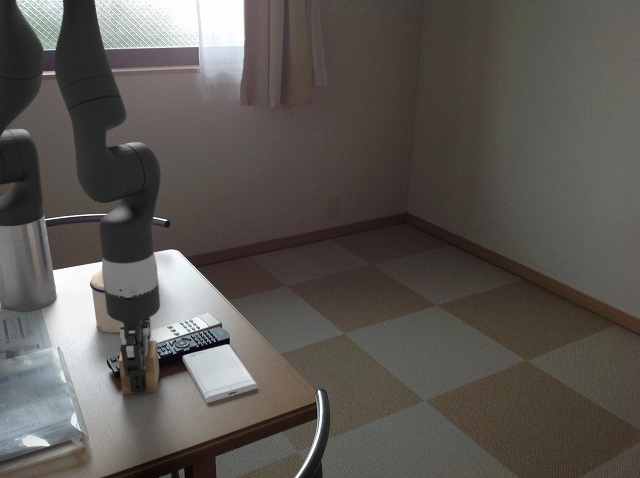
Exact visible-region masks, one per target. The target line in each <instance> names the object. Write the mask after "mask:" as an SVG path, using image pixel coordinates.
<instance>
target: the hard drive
mask: <svg viewBox="0 0 640 478" xmlns="http://www.w3.org/2000/svg"><path fill="white" fill-rule="evenodd" d="M182 362H183V364H184V366H185V368H186V369H187V371H188V372H189V374H190V377H191V378H192V380H193V381H194V384H195V386H196V387H197V390H198V391H199V392H200V394H201V395H202V398H203V399H204V401H205V403H206V404H209V403H212V402H215V401H219V400H221V399H226V398H230V397H232V396H236V395H240V394H243V393H247V392H250V391H253V390H256V389H258V383H257V382H256V381H255V380H254V378H253V377H252V375H251V374H250V372H249V371H248V370H247V368H246V367H245V365H244V364H243V362H242V361H241V359H239V357H238V355H237V354H236V353H235V351H234V350H233V348H232V347H231V346H230V345H229V344H223V345H219V346H214V347H211V348H207V349H202V350H200V351H195V352H191V353H188V354H184V355H182Z"/></svg>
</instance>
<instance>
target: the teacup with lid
mask: <svg viewBox="0 0 640 478" xmlns="http://www.w3.org/2000/svg"><path fill="white" fill-rule="evenodd" d="M89 286H90V288H91V292H92V293H91V294H92V299H93V300H92V301H93V307H94V315H95V322H96V326H97V328H98V329H99V330H101V331H103V332H105V333H111V334H120V327H121V326H123V323H122V322H120V321H118V320H115V319H113V318H111V317H110V316H109V315H108V313H107V307H106V299H105V291H104V283H103V274H102V270H100V271H98V272H96V273H95V274H94V275H92V277H91V278H90V281H89Z"/></svg>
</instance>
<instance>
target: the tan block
mask: <svg viewBox="0 0 640 478" xmlns="http://www.w3.org/2000/svg"><path fill="white" fill-rule="evenodd" d="M141 350H143V347H141ZM158 353H159V352H158V340H149V341H148V353H147V355H146V356H145V366H146V369H145V375H146V385H147V388H146V391H145V392H136V393H135V394H144V393H157V391H158V384H159V379H160V364H159V354H158ZM118 366H119V367H118V368H119V375H120V382H121V393H122V395H128V394H132V395H133V394H134V393H133V392H132V391H131V385H130V376H127V377H126V376H125V374H124V366H123V360H122V355H121V353H119V358H118Z"/></svg>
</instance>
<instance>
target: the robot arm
mask: <svg viewBox="0 0 640 478" xmlns="http://www.w3.org/2000/svg"><path fill="white" fill-rule="evenodd" d="M62 5H63V6H62V8H63V9H62V10H63V11H62V17H61V24H60V29H59V33H58V38H57V43H56V46H55V52H54V61H53V63H54V64H53V65H54V66H53V67H54V75H55V79H56V83H57V85H58V88H59V91H60V93H61V96H62V99H63V101H64V104H65V107H66V109H67V112H68V115H69V117H70V121H71V125H72V131H73V132H72V133H73V141H74V142H73V143H74V148H75V149H74V150H75V161H76V162H75V166H76V175H77V179H78V182H79V185H80V187H81V190H82V191H83V193H84V194H86V195H87V196H88V198H90V199H92V201H95V202H97V203H100V204H107V203H112V202H116V201H118V200H121V201H120V203H119V205H118V206H117V207H116V208H114V209H112V211H110V212H108V213H107V214H105V215H104V216H103V217H102V218H101V219H100V221H99V224H98V232H99V239H100V247H101V249H100V250H101V255H102V265H101V271H102V274H103V283H104V291H105V299H106V307H107V313H108V315H109V316H110V317H111V318H113V319H115V320H118V321H120V322H122V323H123V326H121V327H120V333H119V335H120V339H121V341H122V344H121V345H120V348H119V351H120V354H121V355H122V360H123V366H124V374H125V376H126V377H127V376H130V385H131V391H132V392H133V393H132V394H137V393H136V392H145V391H146V388H147V385H146V375H145V369H146V366H145V356H146V355H147V353H148V341H151V336H152V329H151V322H152V321H151V317H153V316H154V315H156V314H157V313H158V312H159V310H160V308H161V299H160V298H161V297H160V287H159V286H160V285H159V278H158V277H159V276H158V266H157V265H158V263H157V260H156V255H155V251H154V250H155V249H154V237H153V235H154V234H153V220H154V216H155V212H156V207H157V201H158V196H159V192H160V185H161V177H162V176H161V165H160V162H159V160H158V158H157V156H156V153H155V152H154V151H153V149H152V148H151V147H150V146H148V145H147V144H145V143H143V142H139V141H138V142H137V141H135V142H133V141H132V142H128V143H127V142H126V143H121V144H118V145H117V144H116V145H111V146H108V145H107V132H108V131H111V130H113V129H115V128H117V127H120V125H122V124H123V123H124V122H125V121H126V119H127V111H126V107H125V103H124V100H123V98H122V96H121V93H120V90H119V87H118V84H117V81H116V79H115V76H114V73H113V71H112V68H111V65H110V61H109V60H108V56H107V52H106V48H105V46H104V43H103V37H102V33H101V28H100V24H99V20H98V13H97V9H96V4H95V0H62ZM31 25H32V24H30V23H29V21H28V19H27V18H26V17H25V15H24V14H23V12H22V11H21V9H20V7H19V5H18V3H17V0H0V186H2V185H7V184H12V183H13V185H12V187H10V189H9V190H8V191H7V192H5V193H4V194H2V195H1V196H0V308H1V309H8V310H11V311H17V312H26V311H27V312H29V311H35V310H38V309H41V308H44V307H48V306H49V305H50V304H52V303H54V302H55V301H56V299H57V296H58V295H57V290H56V289H57V288H56V283H55V282H56V281H55V277H54V270H53V263H52V262H53V261H52V256H51V249H50V244H49V238H48V237H49V236H48V232H47V231H48V230H47V226H46V225H47V223H46V218H45V212H44V196H43V195H44V194H43V188H42V179H41V178H42V177H41V169H40V168H41V167H40V157H39V152H38V148H37V143H36V142H35V139H34V137H33V136H32V134H31V133H30V132H29V131H28V130H26V129H23V128H12V129H7V128H8V126H10V125H11V124H12V123H13V122H14V121H15V120H16V119H17V118H18V117H19V116H20V115H21V114H23V112H24V111H25V110H26V109H27V108H28V107H29V106H30V105H31V104H32V103H33V101H34V100H35V99H36V98H37V96H38V94H39V92H40V89H41V87H42V81H43V73H44V68H45V62H46V61H45V60H46V56H45V55H46V53H45V50H44V46H43V44H42V42H41V39H40V38H39V36H38V35H37V33H36V32H35V29H34V28H33V27H32V26H31ZM141 347H143V350H141ZM145 393H146V392H145Z"/></svg>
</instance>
